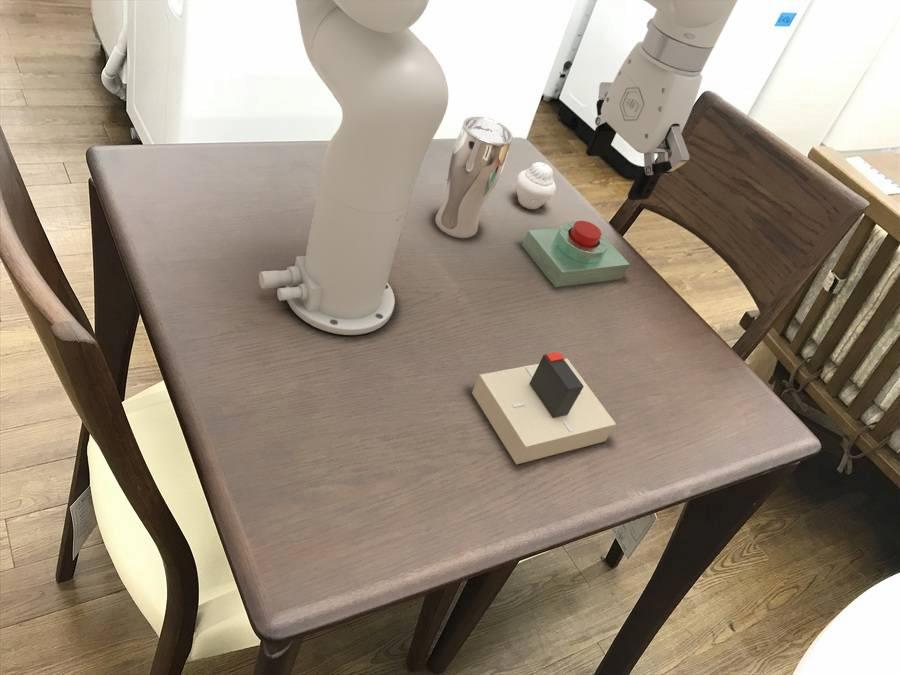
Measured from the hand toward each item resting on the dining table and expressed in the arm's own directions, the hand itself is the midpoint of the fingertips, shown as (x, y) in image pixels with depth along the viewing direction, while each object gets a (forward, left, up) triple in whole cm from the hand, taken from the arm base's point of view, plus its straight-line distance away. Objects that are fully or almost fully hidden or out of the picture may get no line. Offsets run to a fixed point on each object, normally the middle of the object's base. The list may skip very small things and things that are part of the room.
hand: (615, 176), depth 98 cm
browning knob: (-21, -24, -12) cm, 34 cm away
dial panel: (-21, -24, -15) cm, 35 cm away
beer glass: (-14, +10, -15) cm, 23 cm away
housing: (0, 0, -15) cm, 15 cm away
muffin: (+1, +14, -15) cm, 21 cm away
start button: (0, 0, -11) cm, 11 cm away
